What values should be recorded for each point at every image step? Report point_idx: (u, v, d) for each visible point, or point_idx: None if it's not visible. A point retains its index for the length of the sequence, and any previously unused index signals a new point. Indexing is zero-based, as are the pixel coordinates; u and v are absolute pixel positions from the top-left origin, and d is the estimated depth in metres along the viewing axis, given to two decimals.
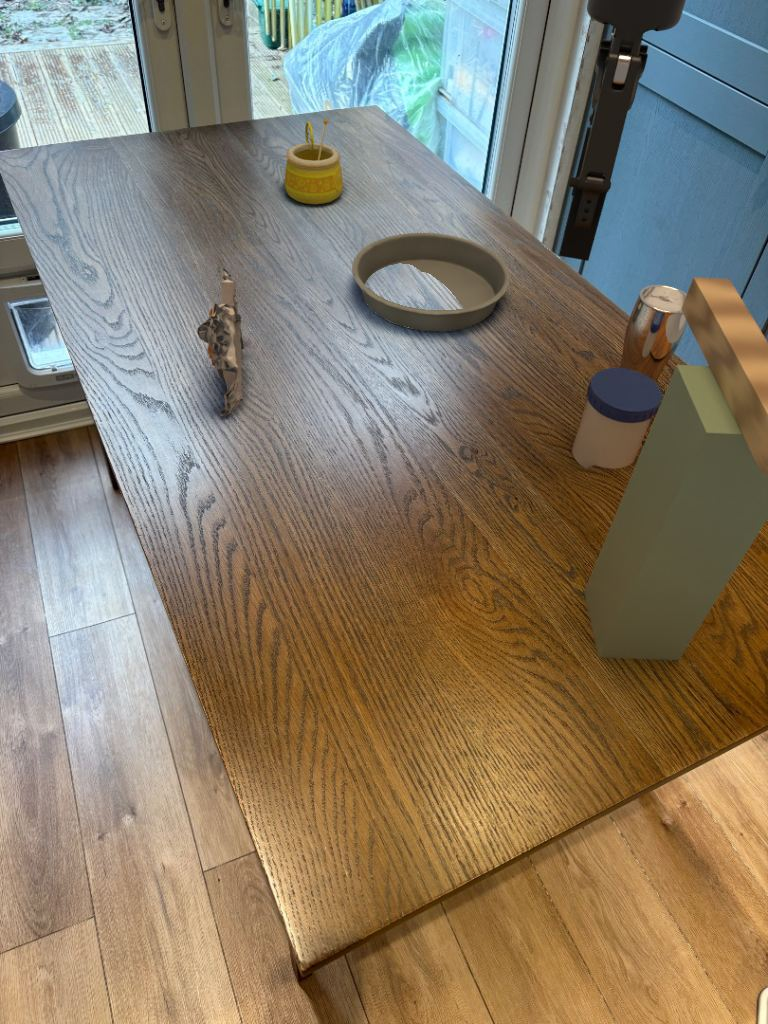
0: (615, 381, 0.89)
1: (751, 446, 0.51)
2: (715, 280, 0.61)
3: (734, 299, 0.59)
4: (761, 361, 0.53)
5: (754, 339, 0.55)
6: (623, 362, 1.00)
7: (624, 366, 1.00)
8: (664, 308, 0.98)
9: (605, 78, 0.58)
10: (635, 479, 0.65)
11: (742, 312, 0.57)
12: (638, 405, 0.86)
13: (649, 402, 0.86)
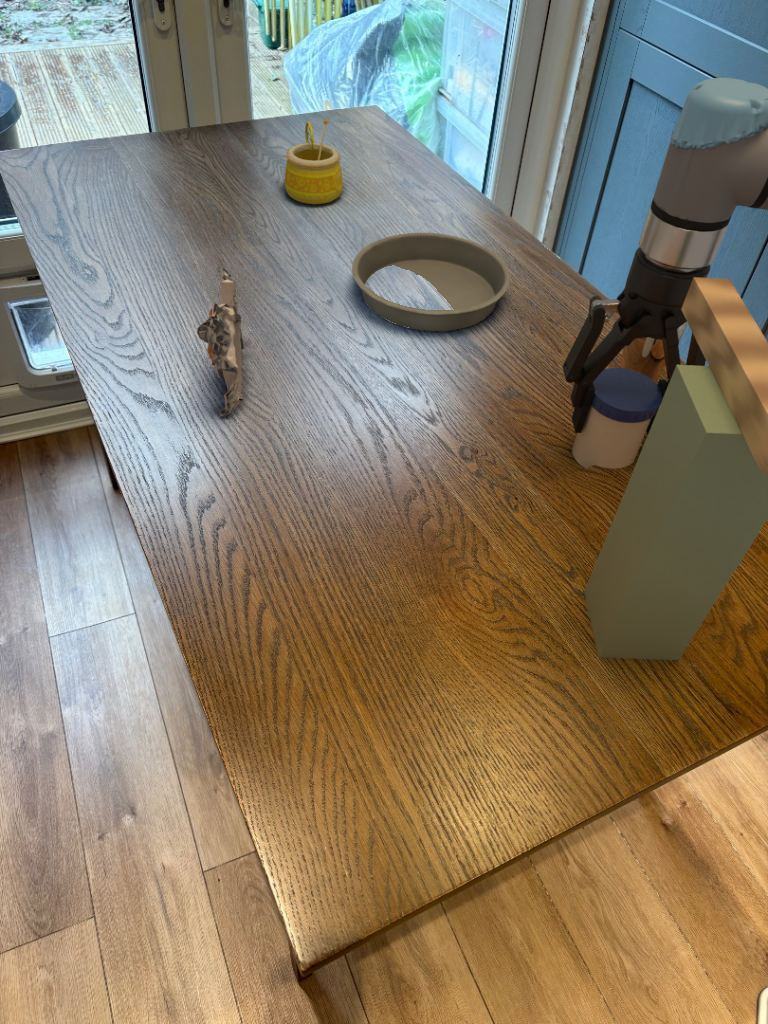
0: (615, 381, 0.89)
1: (751, 446, 0.51)
2: (715, 280, 0.61)
3: (734, 299, 0.59)
4: (761, 361, 0.53)
5: (754, 339, 0.55)
6: (623, 362, 1.00)
7: (624, 366, 1.00)
8: None
9: (589, 311, 0.81)
10: (635, 479, 0.65)
11: (742, 312, 0.57)
12: (638, 405, 0.86)
13: (649, 402, 0.86)
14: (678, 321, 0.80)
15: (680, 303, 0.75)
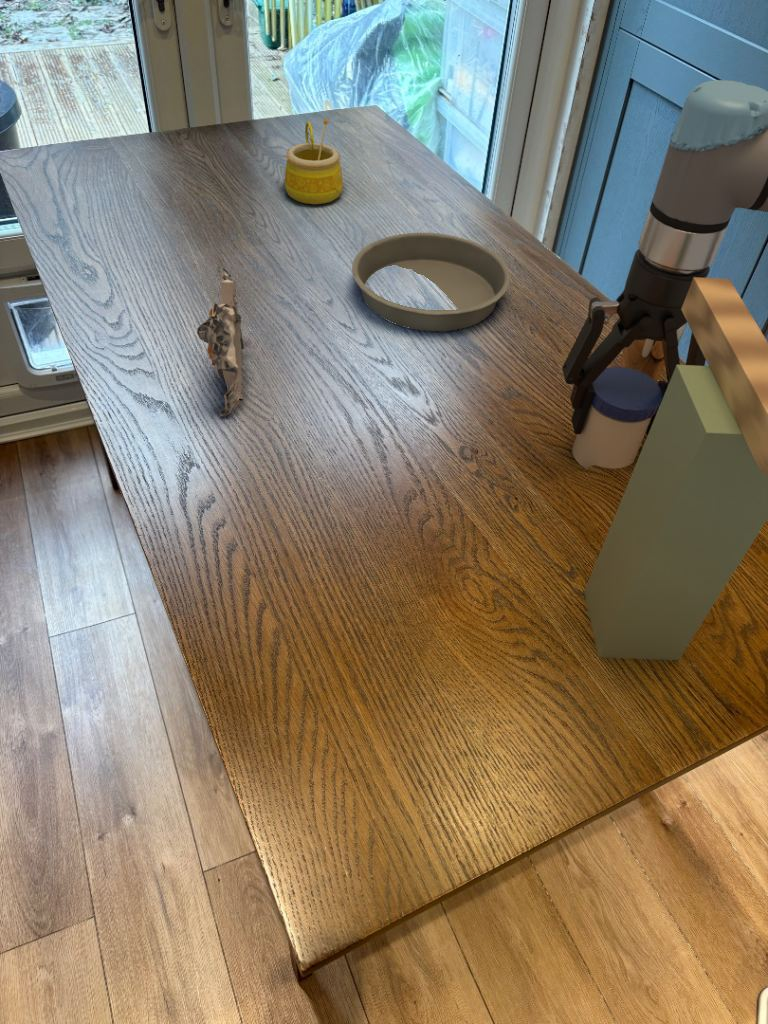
0: (620, 394, 0.87)
1: (751, 446, 0.51)
2: (715, 280, 0.61)
3: (734, 299, 0.59)
4: (761, 361, 0.53)
5: (754, 339, 0.55)
6: (623, 362, 1.00)
7: (624, 366, 1.00)
8: None
9: (588, 312, 0.82)
10: (635, 479, 0.65)
11: (742, 312, 0.57)
12: (646, 380, 0.89)
13: (635, 374, 0.90)
14: (677, 323, 0.80)
15: (679, 305, 0.76)
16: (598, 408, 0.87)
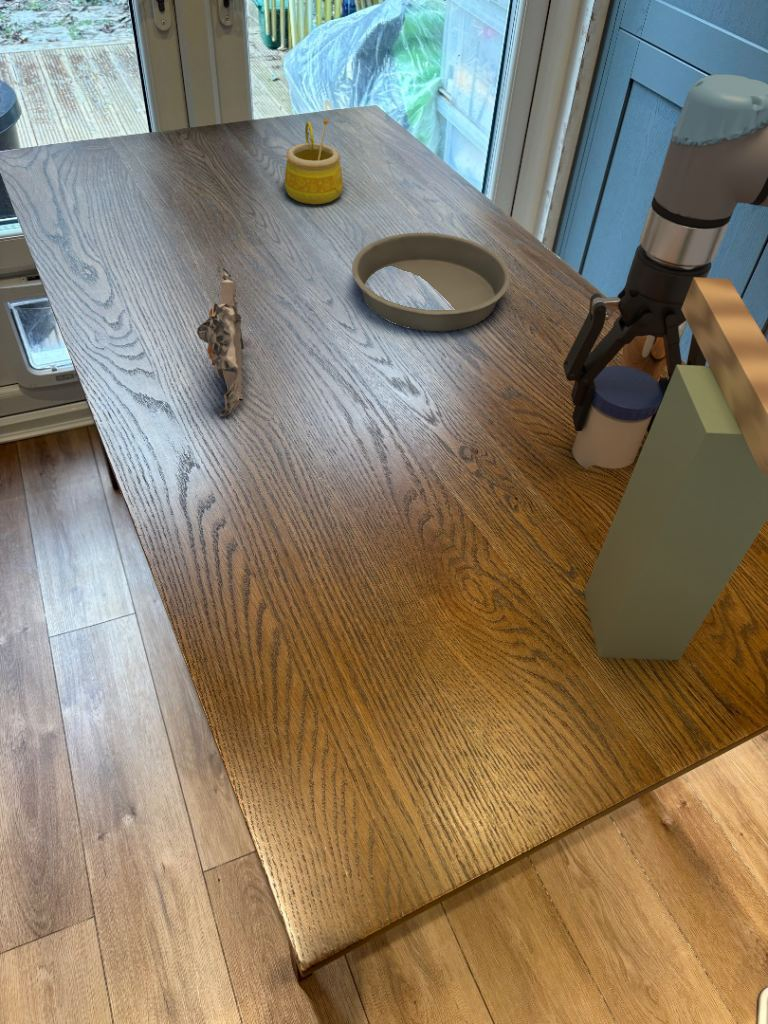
0: (641, 390, 0.87)
1: (751, 446, 0.51)
2: (715, 280, 0.61)
3: (734, 299, 0.59)
4: (761, 361, 0.53)
5: (754, 339, 0.55)
6: (623, 362, 1.00)
7: None
8: None
9: (589, 308, 0.81)
10: (635, 479, 0.65)
11: (742, 312, 0.57)
12: (604, 374, 0.89)
13: (599, 380, 0.88)
14: (679, 319, 0.80)
15: (681, 301, 0.75)
16: (655, 411, 0.87)
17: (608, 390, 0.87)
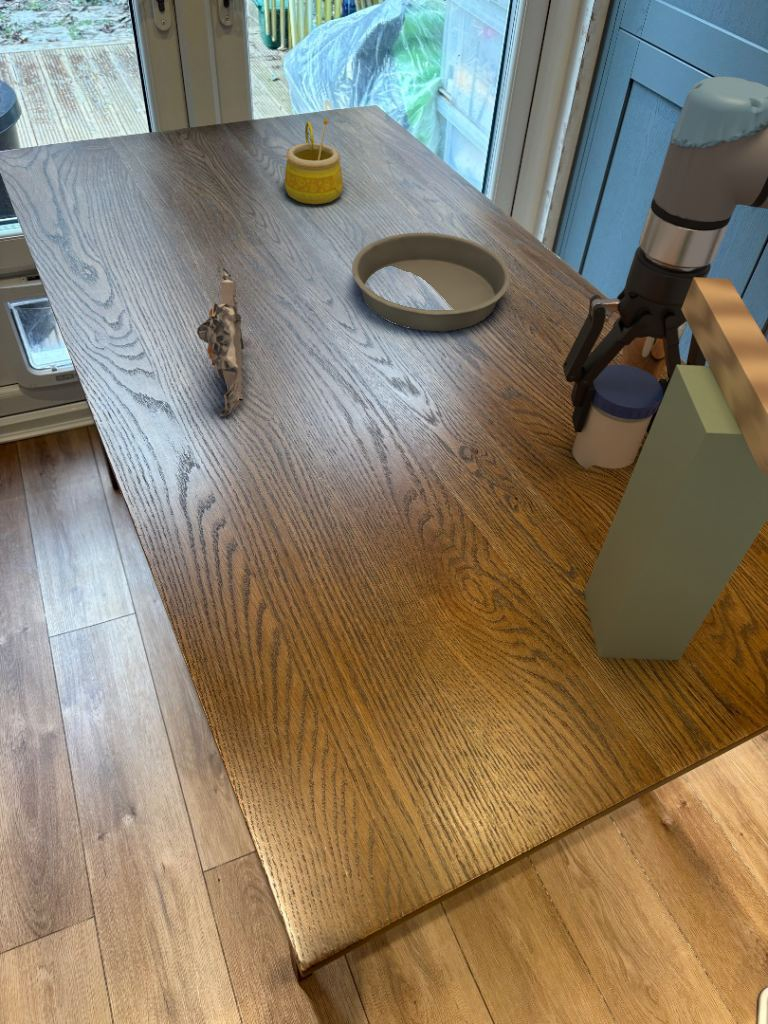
0: (625, 376, 0.89)
1: (751, 446, 0.51)
2: (715, 280, 0.61)
3: (734, 299, 0.59)
4: (761, 361, 0.53)
5: (754, 339, 0.55)
6: (623, 362, 1.00)
7: None
8: None
9: (589, 310, 0.81)
10: (635, 479, 0.65)
11: (742, 312, 0.57)
12: (620, 399, 0.85)
13: (634, 402, 0.85)
14: (678, 320, 0.80)
15: (680, 302, 0.75)
16: None
17: (644, 396, 0.86)
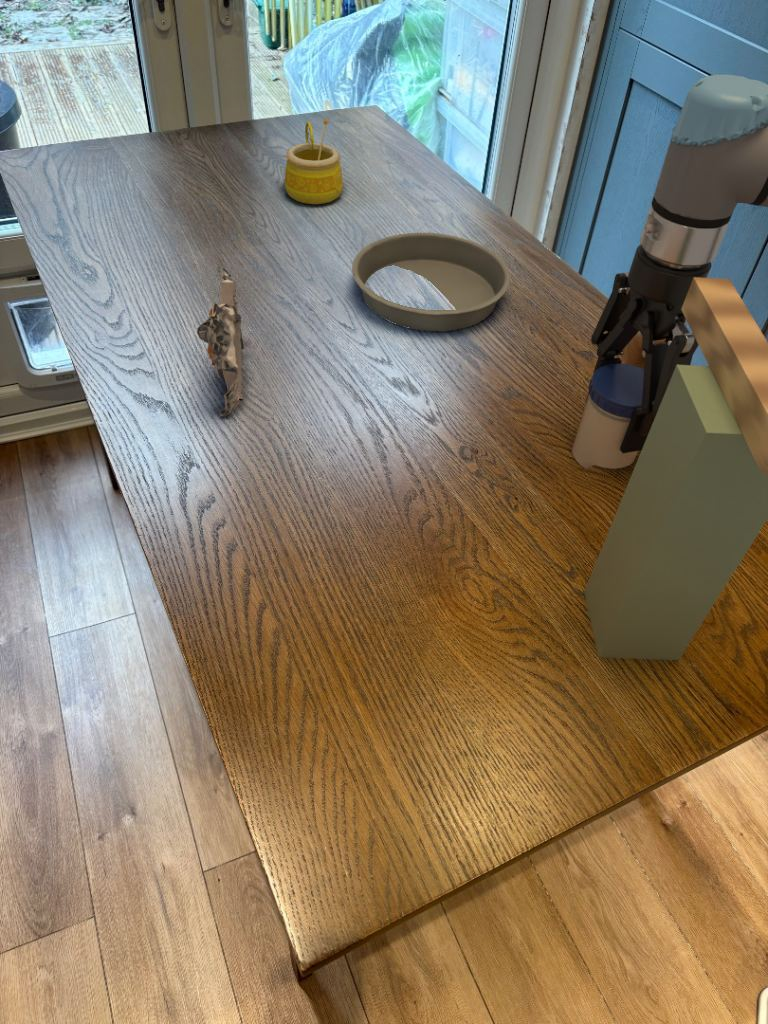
0: (614, 385, 0.87)
1: (751, 446, 0.51)
2: (715, 280, 0.61)
3: (734, 299, 0.59)
4: (761, 361, 0.53)
5: (754, 339, 0.55)
6: (623, 362, 1.00)
7: None
8: None
9: (676, 353, 0.76)
10: (635, 479, 0.65)
11: (742, 312, 0.57)
12: None
13: None
14: None
15: None
16: (589, 389, 0.88)
17: (636, 374, 0.89)
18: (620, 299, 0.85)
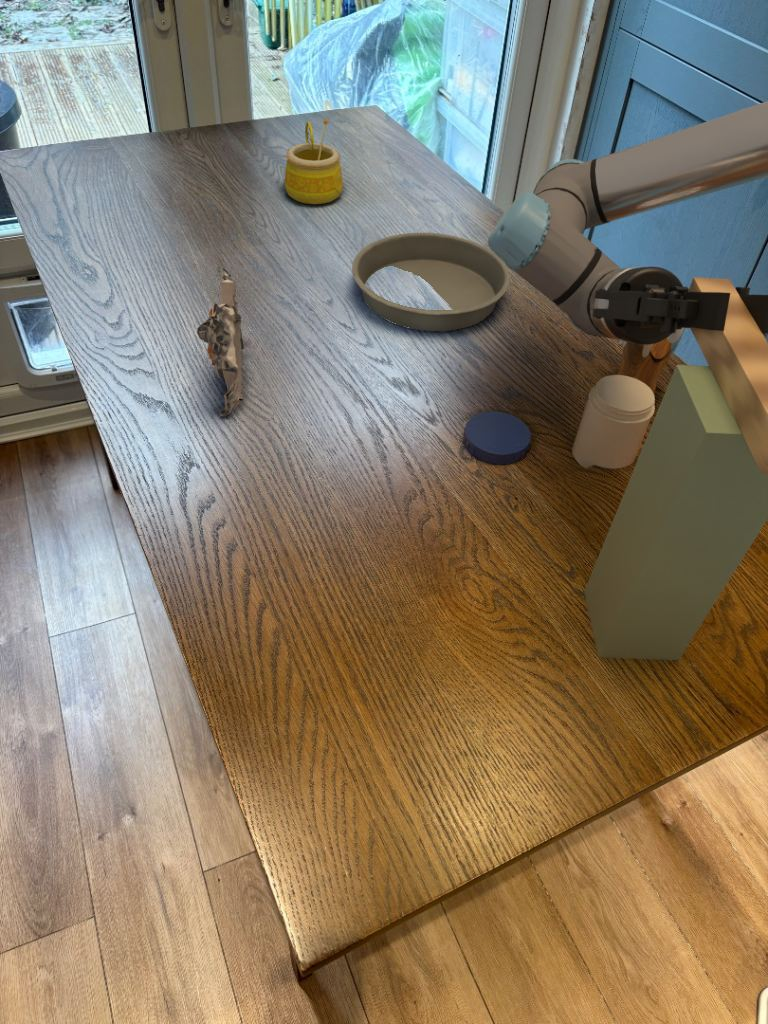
0: (498, 440, 0.93)
1: (751, 446, 0.51)
2: (715, 280, 0.61)
3: (734, 299, 0.59)
4: (761, 361, 0.53)
5: (754, 339, 0.55)
6: (623, 362, 1.00)
7: (624, 366, 1.00)
8: None
9: (602, 315, 0.70)
10: (635, 479, 0.65)
11: (742, 312, 0.57)
12: (507, 418, 0.97)
13: (495, 415, 0.97)
14: None
15: (661, 268, 0.73)
16: (486, 460, 0.93)
17: (484, 421, 0.96)
18: None
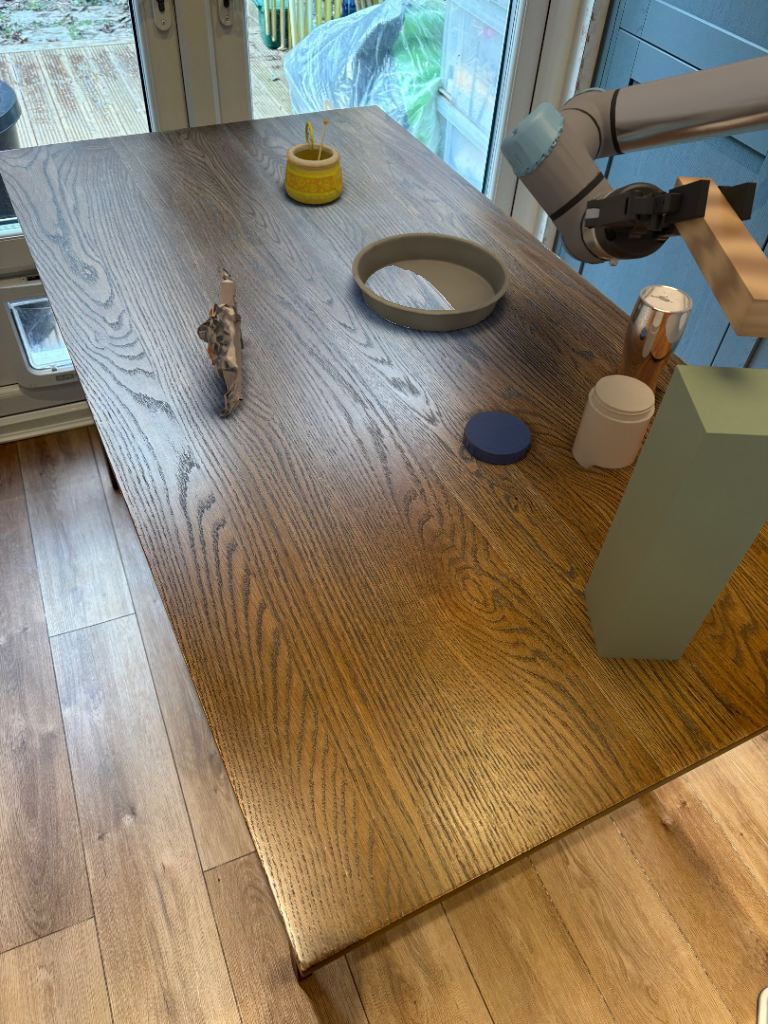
0: (498, 440, 0.93)
1: (728, 314, 0.55)
2: (698, 178, 0.65)
3: (715, 193, 0.63)
4: (738, 240, 0.57)
5: (732, 224, 0.59)
6: (623, 362, 1.00)
7: (624, 366, 1.00)
8: (664, 308, 0.98)
9: (593, 224, 0.74)
10: (635, 479, 0.65)
11: (722, 203, 0.61)
12: (507, 418, 0.97)
13: (495, 415, 0.97)
14: None
15: None
16: (486, 460, 0.93)
17: (484, 421, 0.96)
18: None
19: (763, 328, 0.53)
